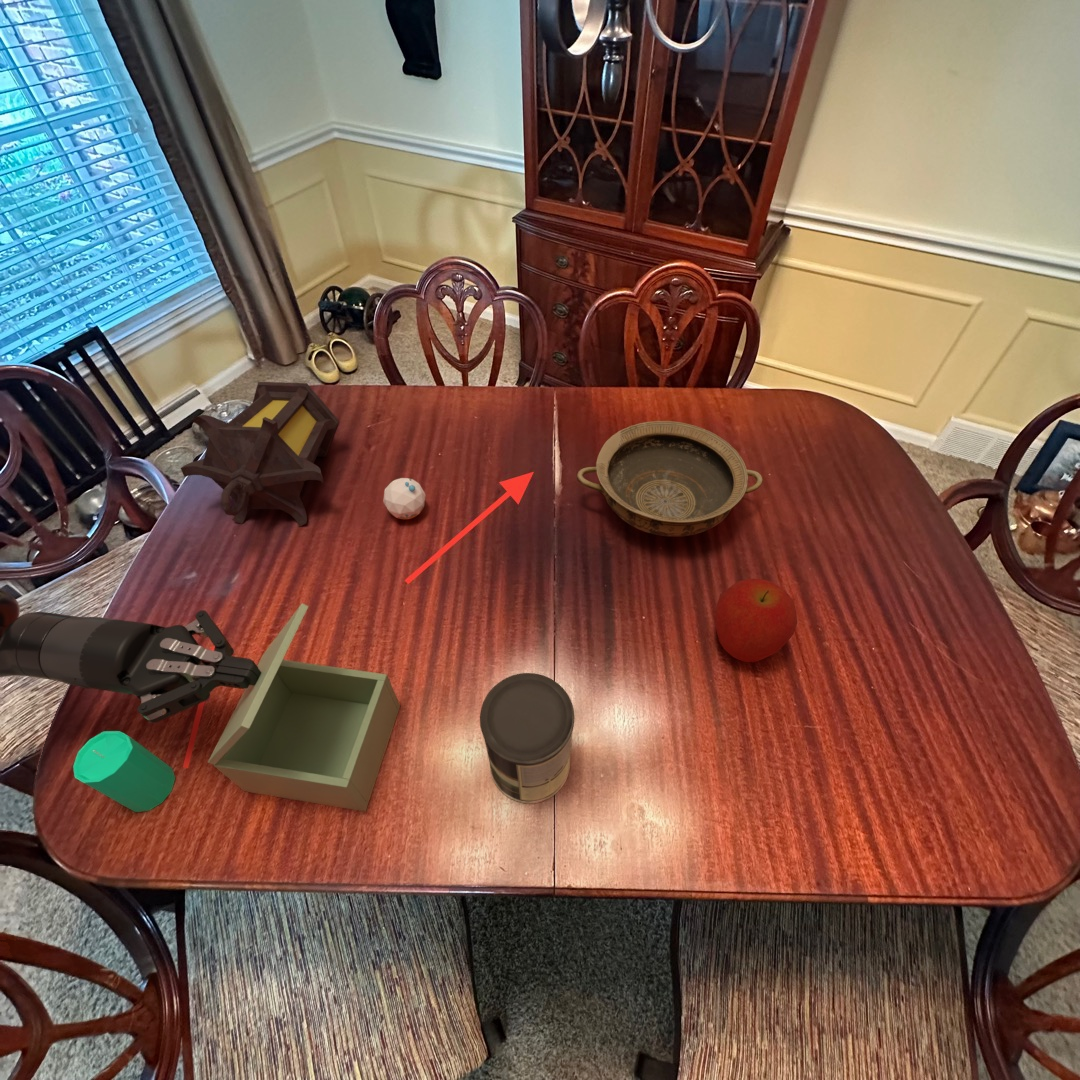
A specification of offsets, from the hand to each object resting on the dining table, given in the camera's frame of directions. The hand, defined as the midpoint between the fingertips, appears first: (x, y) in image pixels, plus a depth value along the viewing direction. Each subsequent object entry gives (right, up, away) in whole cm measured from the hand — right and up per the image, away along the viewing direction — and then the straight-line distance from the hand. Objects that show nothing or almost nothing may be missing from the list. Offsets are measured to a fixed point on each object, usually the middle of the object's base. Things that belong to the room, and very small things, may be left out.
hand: (255, 674), depth 63 cm
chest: (+2, -12, +14) cm, 19 cm away
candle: (-18, -17, +11) cm, 27 cm away
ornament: (+7, +19, +41) cm, 46 cm away
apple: (+59, -1, +23) cm, 63 cm away
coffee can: (+29, -14, +13) cm, 35 cm away
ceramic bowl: (+51, +19, +41) cm, 68 cm away
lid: (-1, -2, +2) cm, 3 cm away
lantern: (-15, +23, +44) cm, 52 cm away
